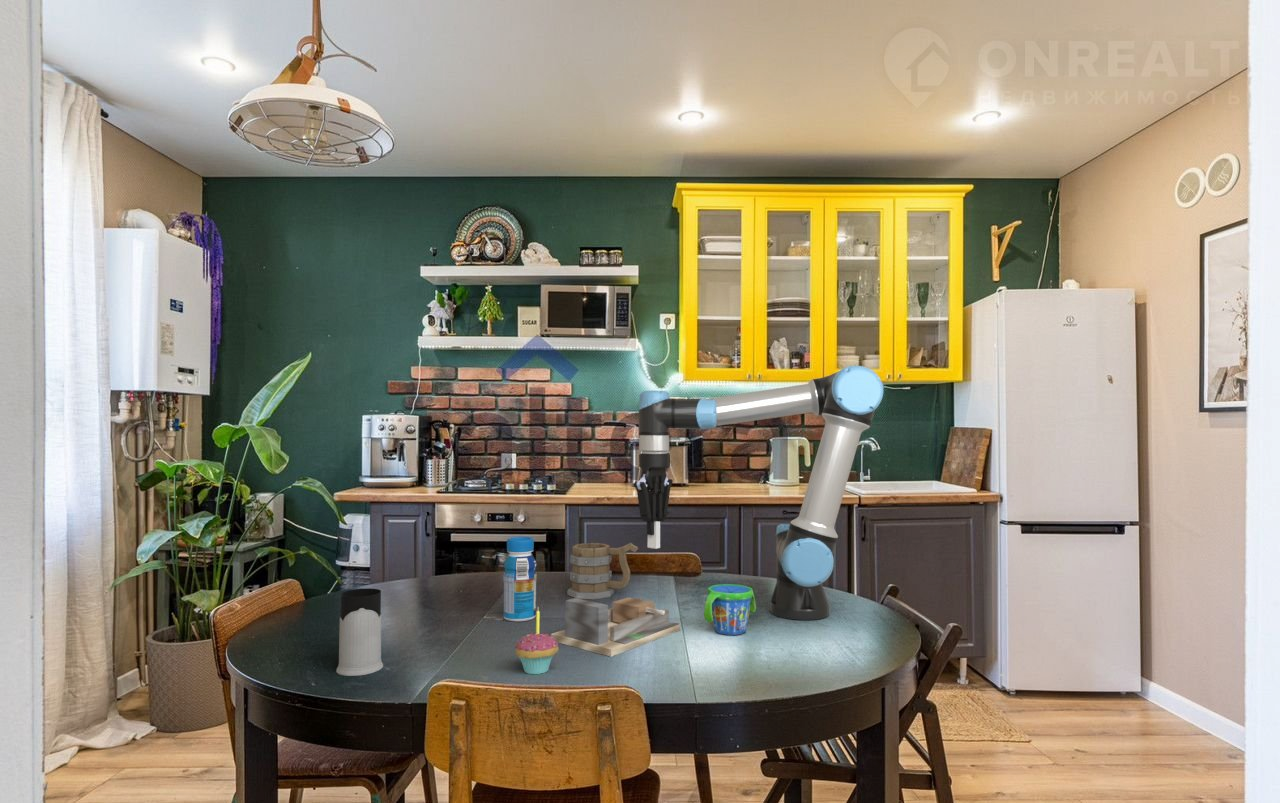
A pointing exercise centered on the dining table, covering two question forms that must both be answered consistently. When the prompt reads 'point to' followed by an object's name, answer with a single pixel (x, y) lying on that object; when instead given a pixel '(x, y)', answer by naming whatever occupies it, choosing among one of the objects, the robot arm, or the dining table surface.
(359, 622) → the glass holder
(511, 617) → the beverage bottle
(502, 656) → the dining table surface
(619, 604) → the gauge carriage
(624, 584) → the tankard
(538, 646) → the cupcake
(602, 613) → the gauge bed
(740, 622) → the snack cup
